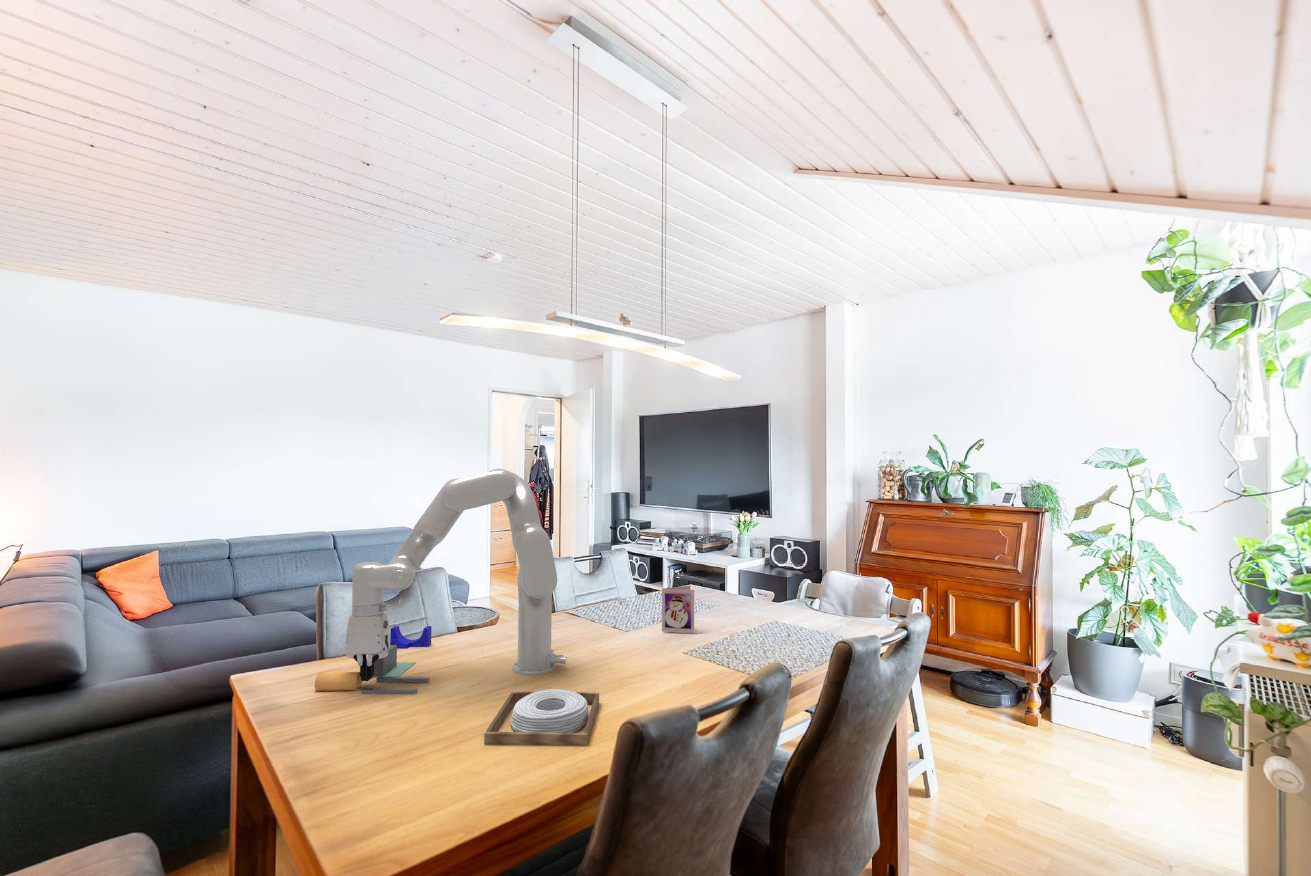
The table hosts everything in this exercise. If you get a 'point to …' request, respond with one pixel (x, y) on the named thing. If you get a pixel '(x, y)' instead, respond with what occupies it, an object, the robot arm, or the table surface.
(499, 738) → the cable tray
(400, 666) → the pad
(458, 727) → the table surface
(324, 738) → the table surface
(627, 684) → the table surface
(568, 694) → the cable
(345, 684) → the tan cylinder
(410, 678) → the channel
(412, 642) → the cable clip
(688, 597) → the greeting card
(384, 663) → the block
